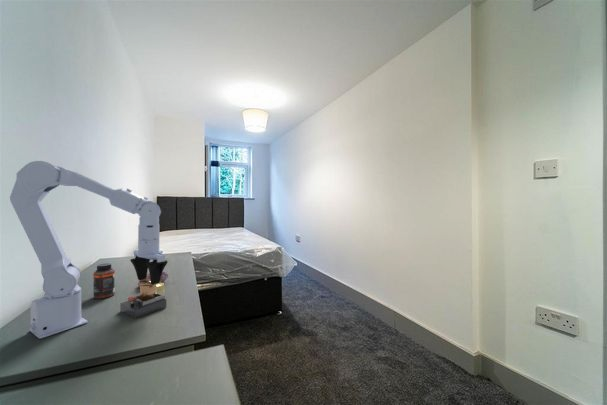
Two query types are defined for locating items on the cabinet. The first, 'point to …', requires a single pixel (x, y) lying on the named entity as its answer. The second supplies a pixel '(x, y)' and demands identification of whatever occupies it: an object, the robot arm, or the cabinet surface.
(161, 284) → the gold short rounded piece
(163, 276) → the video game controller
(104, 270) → the supplement bottle
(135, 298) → the gray square open box
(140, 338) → the cabinet surface
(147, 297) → the copper flared cylinder
